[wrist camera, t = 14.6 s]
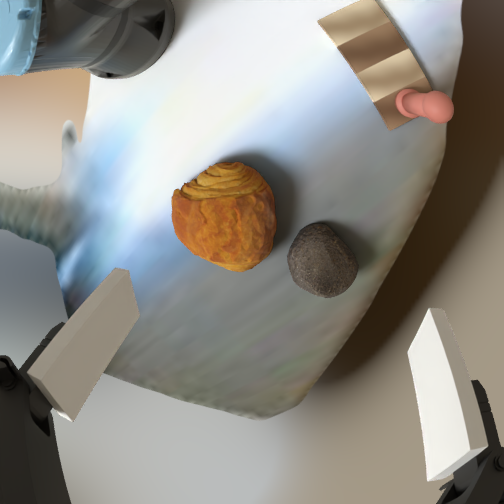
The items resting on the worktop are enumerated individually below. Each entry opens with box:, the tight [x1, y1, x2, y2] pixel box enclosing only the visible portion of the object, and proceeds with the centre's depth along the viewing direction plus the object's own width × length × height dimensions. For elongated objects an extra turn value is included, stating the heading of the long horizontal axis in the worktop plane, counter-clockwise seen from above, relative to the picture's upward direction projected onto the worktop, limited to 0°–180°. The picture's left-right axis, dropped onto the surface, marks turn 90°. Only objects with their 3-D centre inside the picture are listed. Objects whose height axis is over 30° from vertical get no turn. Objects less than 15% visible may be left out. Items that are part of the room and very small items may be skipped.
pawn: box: [395, 89, 454, 124], centre depth 25 cm, size 4×4×11 cm
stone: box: [287, 223, 358, 298], centre depth 41 cm, size 10×8×10 cm
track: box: [318, 0, 433, 131], centre depth 28 cm, size 16×8×1 cm, turn 36°
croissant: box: [172, 162, 277, 272], centre depth 40 cm, size 14×16×8 cm
